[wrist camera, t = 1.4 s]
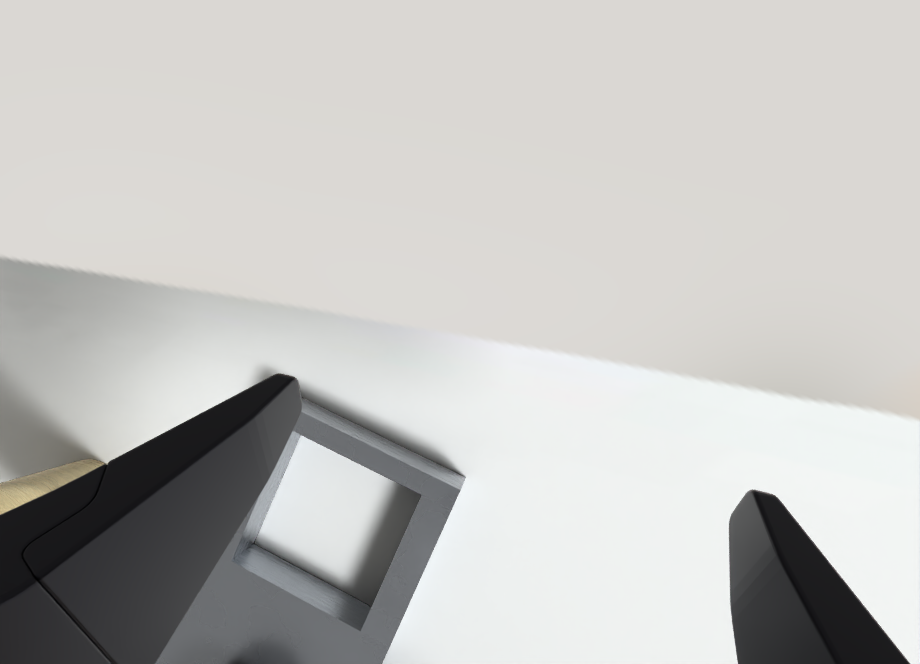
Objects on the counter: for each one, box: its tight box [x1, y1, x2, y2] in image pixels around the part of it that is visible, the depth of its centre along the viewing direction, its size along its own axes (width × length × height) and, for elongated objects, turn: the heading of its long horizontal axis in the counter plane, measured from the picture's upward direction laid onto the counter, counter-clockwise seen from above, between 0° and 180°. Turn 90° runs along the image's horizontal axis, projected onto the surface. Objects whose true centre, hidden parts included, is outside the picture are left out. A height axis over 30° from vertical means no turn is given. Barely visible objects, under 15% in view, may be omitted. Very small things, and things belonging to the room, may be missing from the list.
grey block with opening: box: [155, 397, 466, 664], centre depth 23 cm, size 18×10×4 cm, turn 156°
